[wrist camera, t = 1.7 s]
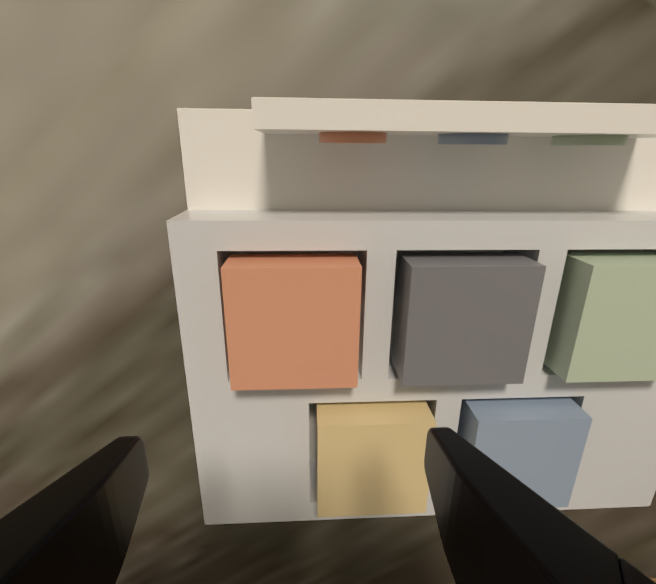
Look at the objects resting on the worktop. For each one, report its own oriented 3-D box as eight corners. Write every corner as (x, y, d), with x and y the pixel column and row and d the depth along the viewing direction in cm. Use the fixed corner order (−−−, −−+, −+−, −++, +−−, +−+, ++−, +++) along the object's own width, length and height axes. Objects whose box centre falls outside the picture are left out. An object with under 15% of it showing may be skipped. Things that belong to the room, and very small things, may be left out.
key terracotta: (351, 361, 16) (357, 387, 14) (239, 364, 15) (231, 390, 14) (355, 253, 14) (361, 267, 13) (230, 254, 14) (220, 268, 12)
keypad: (597, 451, 21) (668, 525, 17) (220, 464, 20) (199, 546, 16) (693, 118, 16) (834, 107, 12) (185, 110, 15) (137, 94, 11)
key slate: (543, 474, 18) (568, 507, 17) (449, 477, 18) (464, 511, 16) (563, 391, 17) (592, 418, 15) (460, 393, 17) (479, 421, 15)
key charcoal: (499, 359, 16) (522, 383, 14) (391, 361, 16) (402, 386, 14) (518, 252, 15) (546, 266, 13) (399, 253, 14) (412, 267, 13)
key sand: (414, 478, 18) (425, 513, 16) (316, 482, 18) (317, 517, 16) (422, 394, 16) (436, 423, 15) (316, 397, 16) (317, 426, 14)
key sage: (641, 356, 16) (680, 380, 15) (538, 358, 16) (565, 382, 14) (674, 251, 15) (721, 264, 13) (560, 252, 15) (594, 265, 13)
